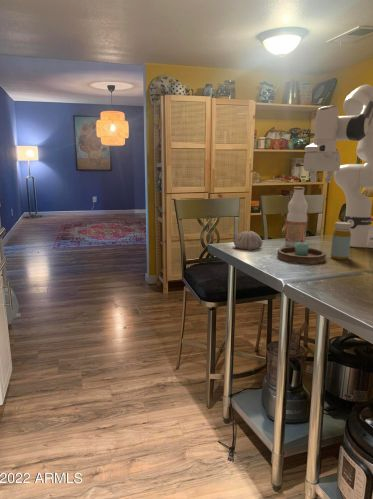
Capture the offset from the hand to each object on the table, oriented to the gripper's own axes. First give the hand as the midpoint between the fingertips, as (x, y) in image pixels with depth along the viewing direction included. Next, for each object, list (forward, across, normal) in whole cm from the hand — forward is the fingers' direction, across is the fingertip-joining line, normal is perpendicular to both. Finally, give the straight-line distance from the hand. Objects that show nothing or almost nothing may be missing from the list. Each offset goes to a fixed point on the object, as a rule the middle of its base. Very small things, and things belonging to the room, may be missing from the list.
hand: (321, 182), depth 157 cm
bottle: (+31, -6, +8) cm, 33 cm away
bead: (+30, +8, -1) cm, 31 cm away
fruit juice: (+31, -11, -19) cm, 38 cm away
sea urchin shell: (+31, +12, -28) cm, 44 cm away
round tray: (+31, +8, -1) cm, 32 cm away
